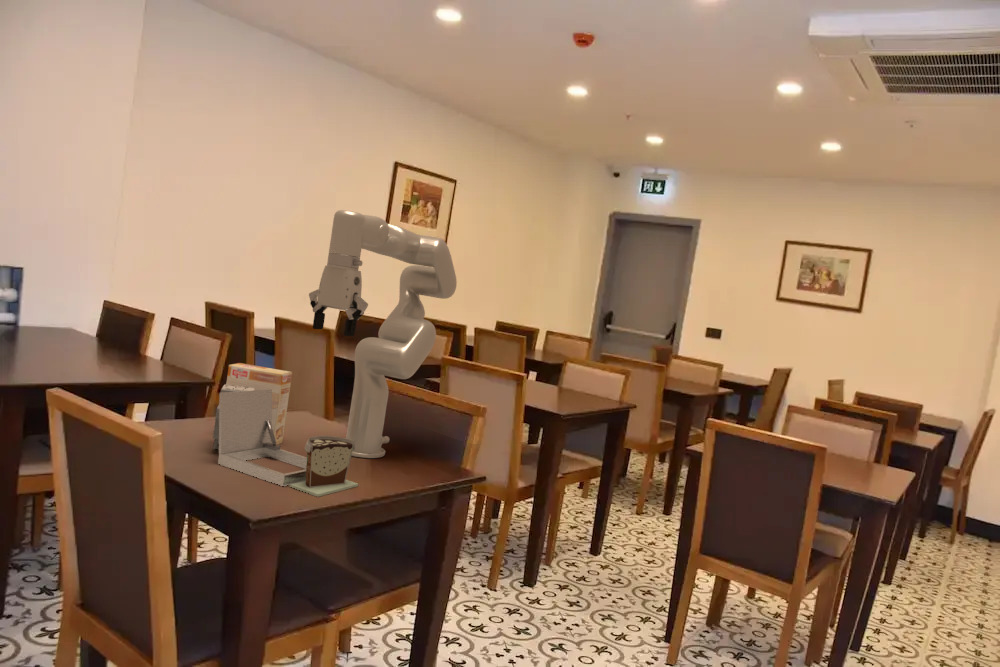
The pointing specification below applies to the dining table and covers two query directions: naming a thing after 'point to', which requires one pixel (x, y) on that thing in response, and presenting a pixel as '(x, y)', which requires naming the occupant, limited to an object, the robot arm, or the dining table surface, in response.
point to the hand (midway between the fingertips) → (333, 332)
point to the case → (253, 437)
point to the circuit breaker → (216, 428)
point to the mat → (323, 488)
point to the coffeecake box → (263, 381)
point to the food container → (327, 460)
